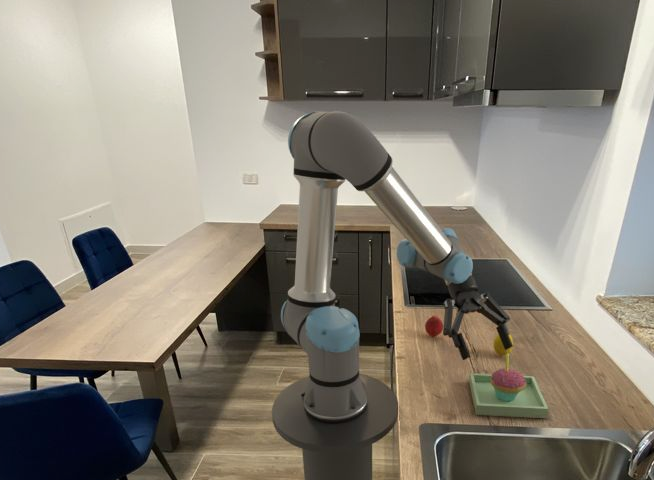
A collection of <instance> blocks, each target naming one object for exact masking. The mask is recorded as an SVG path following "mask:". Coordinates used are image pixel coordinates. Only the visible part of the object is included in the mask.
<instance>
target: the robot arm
mask: <svg viewBox="0 0 654 480" xmlns="http://www.w3.org/2000/svg"><path fill="white" fill-rule="evenodd" d="M288 133H289V134H288V137H287V146H288V151H289V153H290V155H291V157H292V159H293V173H292V175H293V177H294V178H295V179H296V180H297V182H298V184H299V193H298V195H299V196H298V212H297V214H298V215H297V232H296V233H297V234H296V250H295V252H296V254H295V270H294V271H295V273H294V274H295V275H294V285H293V286H291V288H290V289H289V290H287V299H286V301H284V303H283V304H282V307H281V310H280V320H281V324H282V326H283V329H284V330H285V332H286V333H287V334H288V336H289V337H291V338H292V339H293V340H294V342H296V344H297V345H298V346H299V347H300V348H301V349H302V350H303V351H304V352H305V354H306V355H307V359H308V373H309V376H310V379H309V382H308V385H307V389H306V392H305V393H302V394H301V396H302V397H304V399H303V402H304V410H305V412H306V414H307V415H308V416H309V417H310V418H312V419H314V420H316V421H319V422H322V423H329V424H337V423H344V422H348V421H351V420H354V419H356V418H358V417H359V416H360V415H362V414H363V413H364V411H365V410H366V408H367V393H366V391H365V389H364V387H365V385H364V384H363V382H362V380H361V378H360V376H359V374H360V336H361V334H360V328H359V321H358V319H357V317H356V315H355V314H354V313H353V312H351V311H350V310H349V309H346V308H344V307H343V308H342V307H341V308H339V306H336V293H335V292H334V291H333V290H332V289H331V279H332V267H333V256H334V255H333V253H334V243H335V232H336V229H335V228H336V218H337V205H338V193H339V188H340V187H341V186H342V185H343V184H344V183H345V182H346V181H347V182H349V184H351V186H352V187H353V188H354V189H355V190H356V191H358V192H364V193H365V194H366V195H367V196H368V198H370V200H371V201H372V202H373V203H374V204H375V205H376V206H377V208H378V209H379V210H380V211H381V212H382V214H384V216H385V217H386V218H387V219H388V220H389V221H390V222H391V223H392V225H393V226H394V227H395V228H396V229H397V230H398V231H399V233H400V234H401V235H402V236H403V237H404V238H403V239H401V240H400V241H399V243H398V244H397V248H396V259H397V262H398V263H399V264H400V266H402V267H403V268H419V269H420V270H423V271H426V272H427V273H430V274H433V275H435V276H436V277H439V278H441V279H443V281H444V283H445V285H446V286H447V290H448V293H449V295H450V297H451V298H449V297H448V298H446V300H445V301H444V302H442V303H443V308H444V317H443V330H442V335H443V336H445V337H446V336H447V337H448V338H450V339H452V342H453V345H454V347H455V349H458V351H459V354H460V356H461V359H462V361H465V360H467V359H469V358H470V357H471V355H470V352H469V349H468V346H467V344H466V341H465V338H464V336H463V334H462V332H459V331H460V329H461V325H462V322H463V320H464V316H465V315H468V314H470V313H471V314H473V313H478V314H481V315H482V316H484V317H485V318H486V319H488V320H489V321H490V322H492V323H493V324H495V325H496V326H497V327H496V328H495V329H496V332H497V335H498V334H499V336H500V339H501V341H502V344H503V346H504V349H505V350H507V349H509V348H511V347H514V344H513V345H512V343H511V340H510V338H509V335H511V333H510V331H509V328H508V326H507V323H508V322H509V321H511V317H510V315H508V314H507V312H506V311H505V310H504V309H503V308H502V307H501V306H500V305H499V304H498V302H497V301H496V300H494V298H493V297H492V295H491V294H490V292H489V291H485V292H484V293H483V294H482V293H481V294H480V292H479V290H478V285H477V282H476V280H475V277H474V276H473V269H474V263H473V259H472V258H471V256H469V255H468V254H466V253H465V252H464V251H463V248H462V245H461V243H460V240H459V238H458V235H457V234H456V232H455V231H454V229H452V228H450V227H444V228H442V229H441V228H440V226H439V225H438V224H437V223H436V221H435V220H434V219H433V217H432V216H431V215H430V214H429V212H428V211H427V209H426V208H425V207H424V206H423V204H422V203H421V201H420V200H419V199H418V198H417V196H415V194H414V193H413V191H412V190H411V189H410V188H409V186H408V185H407V184H406V182H405V181H404V180H403V178H402V176H400V174H398V172H397V171H396V170H395V168H394V167H393V163H394V161H393V157H392V156H391V155H390V153H389V152H388V151H387V149H386V148H385V147H384V146H383V144H382V143H381V142H380V140H379V139H378V138H377V136H375V134H374V133H373V132H372V131H371V130H370V129H369V128H368V127H367V126H366V124H364V123H363V122H362V121H361V120H360V119H359V118H357V117H356V116H354V115H352V114H350V113H348V112H345V111H339V110H337V111H313V112H309V113H306V114H304V115H302V116H300V117H299V118H297V120H296V121H294V122H293V124H292V125H291V128H290V129H289V132H288ZM454 307H456V309H457V310H456V313H455V317H454V321H453V315H454V313H453V312H454ZM363 385H364V386H363Z"/></svg>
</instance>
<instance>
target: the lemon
mask: <svg viewBox="0 0 654 480" xmlns="http://www.w3.org/2000/svg"><path fill="white" fill-rule="evenodd" d="M509 338H510V340H511V343H512V345H513V347H514V339H513V337H512V336H511V334H510V335H509ZM513 347H511V348H509V349H507V350H505V349H504V346H503V344H502V341H501V339H500V336H499V334H498V333H497V334H496V335H495V337H494V340H493V349H494V351H495V353H496V354H498V355H500V357H504V356H506V354H507V351H508V354H510V353H511V351H512V350H513Z"/></svg>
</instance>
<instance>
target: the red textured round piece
mask: <svg viewBox="0 0 654 480" xmlns="http://www.w3.org/2000/svg"><path fill="white" fill-rule="evenodd" d="M443 327H444V322H443V321H442V320H441V318H439V317H438V316H437V314H436V313H433V314H432V316H430V317H429V318H428V319H427V320H426V322H425V325H424V329H425V332H426V334H427V335H429V336H430V337H432V338H435V337H438V336H439V335H441V333H443Z"/></svg>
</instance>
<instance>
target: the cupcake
mask: <svg viewBox="0 0 654 480" xmlns="http://www.w3.org/2000/svg"><path fill="white" fill-rule="evenodd" d="M509 354H510V353H509ZM509 354H508V351H507V354H506V355H505V367H504V368H499V369H497V370H495V371H493V373H491V374H492V377H491V385H492V386H493V387H494V389H495V393H496V397H497V398H498V399H500V400H502V401H513V400H514V399H515V398H516V396H517V394H518V393H519V392H521V391H522V390H524V389H525V388H526V379H525V378H524V376H525V375H522V374H521V373H520V372H519V371H517V370H515V369H512V368H509V358H510V357H509V356H510V355H509Z"/></svg>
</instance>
